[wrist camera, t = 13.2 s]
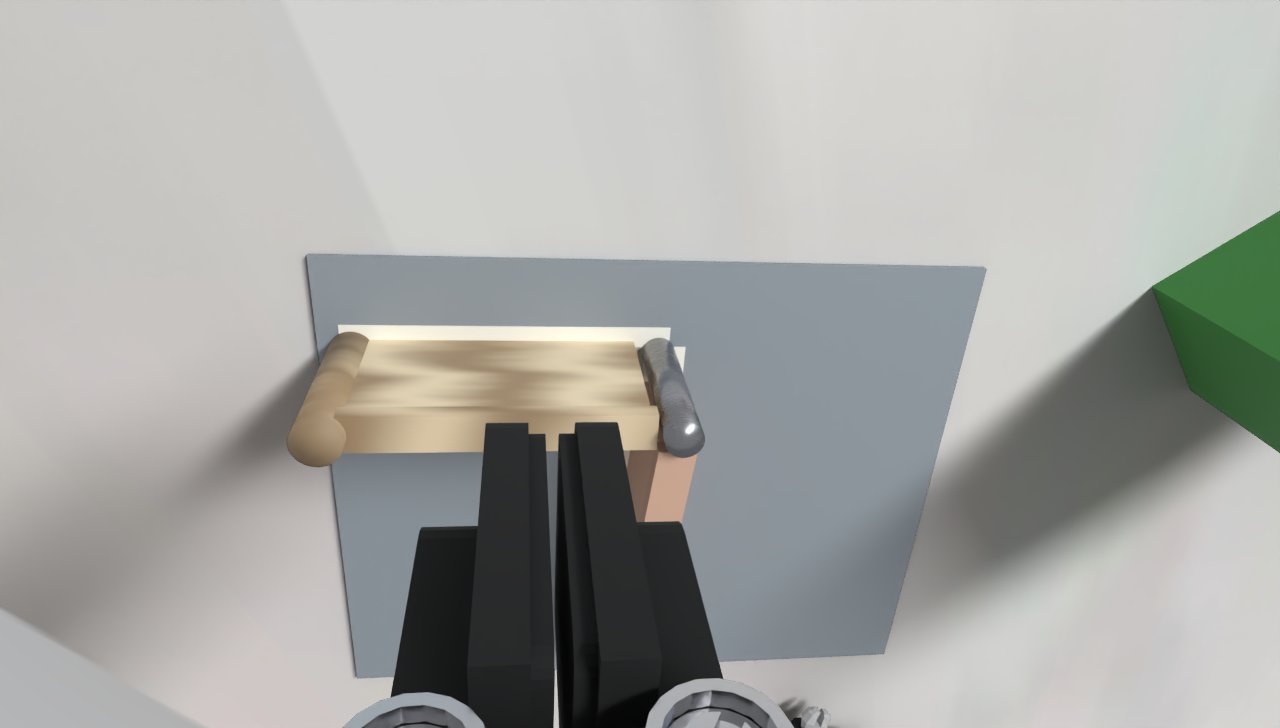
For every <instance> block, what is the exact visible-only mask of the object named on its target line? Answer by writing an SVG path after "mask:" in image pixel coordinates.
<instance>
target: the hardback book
mask: <svg viewBox="0 0 1280 728" xmlns="http://www.w3.org/2000/svg"><path fill="white" fill-rule="evenodd" d="M1152 288H1153V290H1154V293H1155V296H1156V298H1157V301H1158V304H1159V307H1160V309H1161V312H1162V315H1163V317H1164V320H1165V323H1166V325H1167V328H1168V331H1169V333H1170V336H1171V339H1172V342H1173V344H1174V347H1175V350H1176V352H1177V355H1178V358H1179V360H1180V363H1181V366H1182V368H1183V371H1184V374H1185V377H1186V379H1187V382H1188V385H1189V387H1190V390H1192V391H1193V392H1194V393H1196V394H1197V395H1199V396H1200V397H1201V398H1203V399H1204V400H1206V401H1207V402H1208V403H1210V404H1211V405H1213V406H1214V407H1216V408H1217V409H1218V410H1220V411H1221V412H1223V413H1224V414H1225V415H1227V416H1228V417H1230V418H1231V419H1233V420H1234V421H1235V422H1237V423H1238V424H1240V425H1241V426H1242V427H1244V428H1245V429H1247V430H1248V431H1249V432H1251V433H1252V434H1254V435H1255V436H1257V437H1258V438H1259V439H1261V440H1262V441H1264V442H1265V443H1266V444H1268V445H1269V446H1271V447H1272V448H1274V449H1275V450H1276V451H1278V452H1279V453H1280V211H1279V212H1277V213H1275V214H1274V215H1272V216H1270V217H1269V218H1267V219H1265V220H1264V221H1262V222H1260V223H1258V224H1257V225H1255V226H1253V227H1252V228H1250V229H1248V230H1247V231H1245V232H1243V233H1242V234H1240V235H1238V236H1236V237H1235V238H1233V239H1231V240H1230V241H1228V242H1226V243H1225V244H1223V245H1221V246H1220V247H1218V248H1216V249H1214V250H1213V251H1211V252H1209V253H1208V254H1206V255H1204V256H1203V257H1201V258H1199V259H1198V260H1196V261H1194V262H1192V263H1191V264H1189V265H1187V266H1186V267H1184V268H1182V269H1181V270H1179V271H1177V272H1176V273H1174V274H1172V275H1170V276H1169V277H1167V278H1165V279H1164V280H1162V281H1160V282H1159V283H1157V284H1155V285H1154V286H1152Z"/></svg>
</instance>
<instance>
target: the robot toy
mask: <svg viewBox="0 0 1280 728" xmlns="http://www.w3.org/2000/svg"><path fill="white" fill-rule="evenodd" d="M829 721H830V714H829V713H828V711H827V710H826V709H823V708H822V709H821V710H820V711H819V709H818V707H808V708H807V709H806V710H805V711H804V712H803V713H802V718H793V720H792V722H791V723H792V725H793V727H794V728H827V727H828V724H829Z"/></svg>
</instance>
